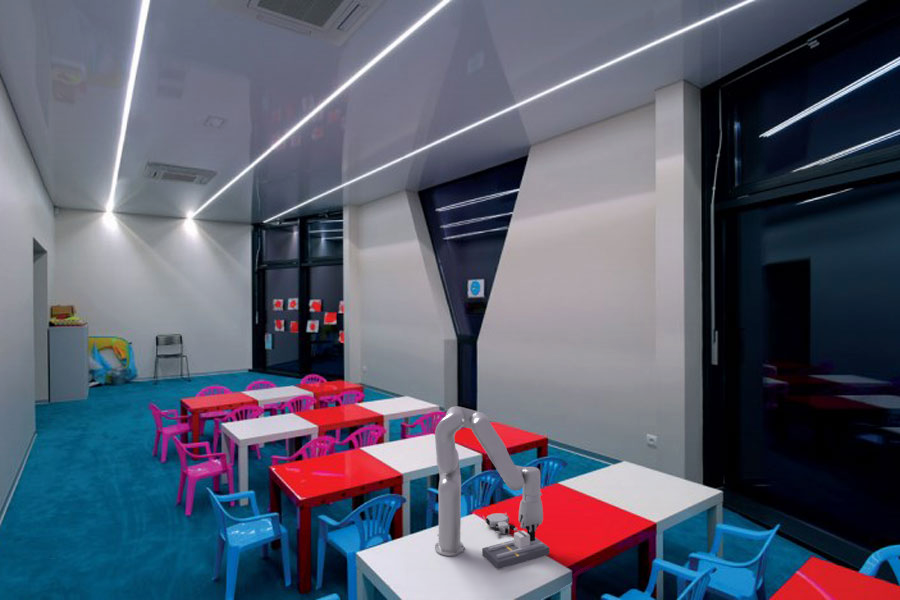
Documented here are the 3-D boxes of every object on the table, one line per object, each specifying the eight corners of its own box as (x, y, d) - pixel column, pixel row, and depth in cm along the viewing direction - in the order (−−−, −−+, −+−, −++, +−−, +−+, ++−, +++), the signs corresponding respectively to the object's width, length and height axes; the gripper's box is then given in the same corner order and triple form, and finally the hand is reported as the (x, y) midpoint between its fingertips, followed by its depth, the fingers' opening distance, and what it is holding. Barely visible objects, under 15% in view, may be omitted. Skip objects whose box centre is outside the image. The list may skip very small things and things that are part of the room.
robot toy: (519, 535, 220) (504, 519, 234) (519, 526, 220) (505, 510, 234) (495, 540, 216) (482, 523, 230) (495, 530, 216) (482, 514, 230)
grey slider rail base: (482, 555, 201) (482, 545, 201) (532, 541, 213) (532, 532, 213) (497, 569, 190) (497, 559, 190) (549, 554, 202) (549, 545, 202)
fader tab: (513, 544, 204) (513, 531, 204) (523, 541, 206) (523, 529, 206) (520, 549, 200) (520, 536, 200) (530, 547, 202) (530, 534, 202)
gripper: (539, 491, 212) (539, 532, 212) (512, 497, 205) (511, 539, 205) (550, 497, 205) (550, 539, 205) (522, 503, 199) (522, 547, 198)
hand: (531, 539), depth 205 cm, fingers closed
